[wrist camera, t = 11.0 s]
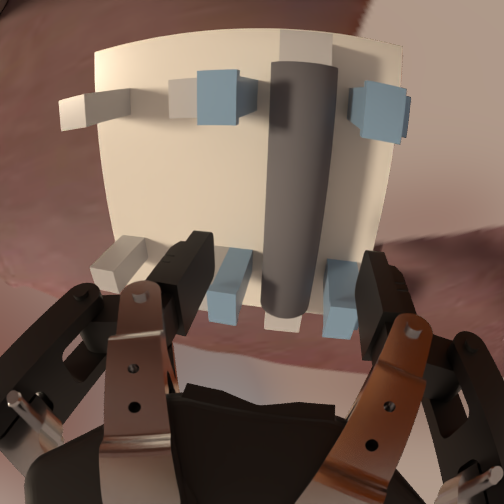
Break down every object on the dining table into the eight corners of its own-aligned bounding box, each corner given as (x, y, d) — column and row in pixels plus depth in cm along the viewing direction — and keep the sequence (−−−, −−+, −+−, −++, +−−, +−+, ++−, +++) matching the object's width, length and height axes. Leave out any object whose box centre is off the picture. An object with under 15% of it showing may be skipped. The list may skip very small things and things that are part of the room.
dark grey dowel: (274, 38, 14) (269, 27, 11) (335, 44, 14) (344, 33, 11) (262, 301, 24) (256, 333, 21) (305, 305, 24) (305, 337, 21)
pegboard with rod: (101, 52, 16) (41, 53, 11) (399, 47, 13) (438, 32, 8) (129, 279, 27) (95, 323, 22) (352, 311, 24) (357, 370, 19)
